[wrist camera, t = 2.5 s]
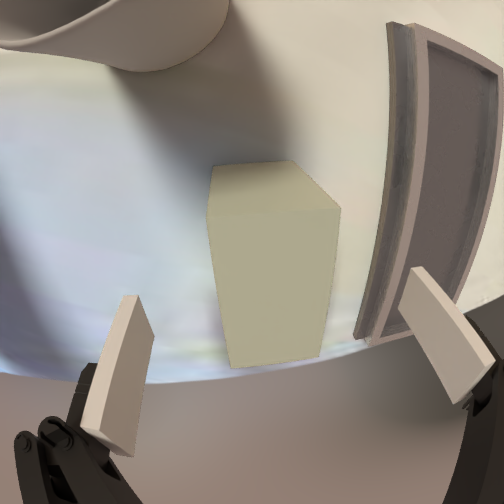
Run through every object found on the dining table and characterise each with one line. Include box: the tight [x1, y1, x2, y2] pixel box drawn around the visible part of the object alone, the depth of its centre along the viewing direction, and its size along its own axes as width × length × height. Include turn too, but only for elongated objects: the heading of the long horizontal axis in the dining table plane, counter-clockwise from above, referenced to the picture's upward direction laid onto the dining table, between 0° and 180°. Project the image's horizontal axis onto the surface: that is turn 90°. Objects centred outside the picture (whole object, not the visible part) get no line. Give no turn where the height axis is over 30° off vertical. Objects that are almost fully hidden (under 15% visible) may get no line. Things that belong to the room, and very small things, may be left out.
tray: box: [353, 21, 504, 347], centre depth 18 cm, size 13×28×2 cm, turn 3°
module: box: [206, 161, 341, 368], centre depth 16 cm, size 5×9×8 cm, turn 3°
